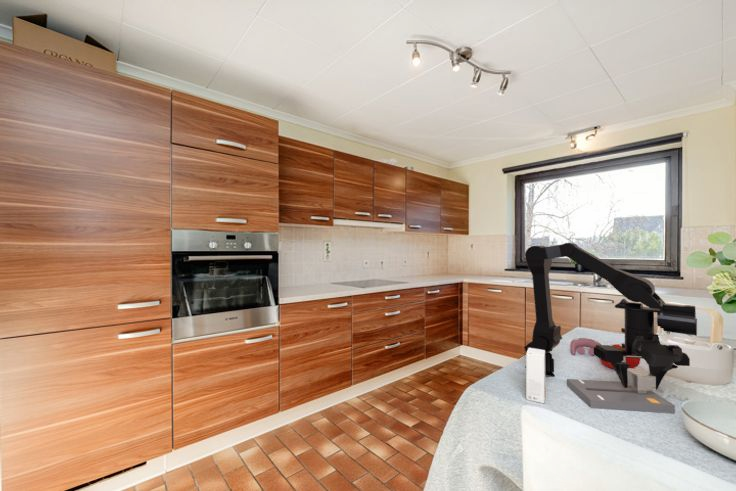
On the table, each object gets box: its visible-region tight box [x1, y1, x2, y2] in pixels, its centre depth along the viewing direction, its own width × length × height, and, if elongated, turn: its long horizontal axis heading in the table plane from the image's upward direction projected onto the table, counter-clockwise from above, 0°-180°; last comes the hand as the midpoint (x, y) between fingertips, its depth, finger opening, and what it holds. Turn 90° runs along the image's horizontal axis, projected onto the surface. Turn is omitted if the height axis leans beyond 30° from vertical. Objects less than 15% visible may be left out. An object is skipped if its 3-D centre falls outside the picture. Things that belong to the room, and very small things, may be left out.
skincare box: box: [525, 348, 546, 404], centre depth 81 cm, size 6×4×12 cm
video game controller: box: [569, 337, 602, 357], centre depth 112 cm, size 10×5×7 cm, turn 59°
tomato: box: [599, 343, 641, 370], centre depth 100 cm, size 10×11×6 cm
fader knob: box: [627, 368, 657, 394], centre depth 79 cm, size 4×5×5 cm
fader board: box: [566, 378, 676, 415], centre depth 80 cm, size 18×12×2 cm, turn 81°
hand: (639, 388), depth 79 cm, fingers open, 6 cm apart
